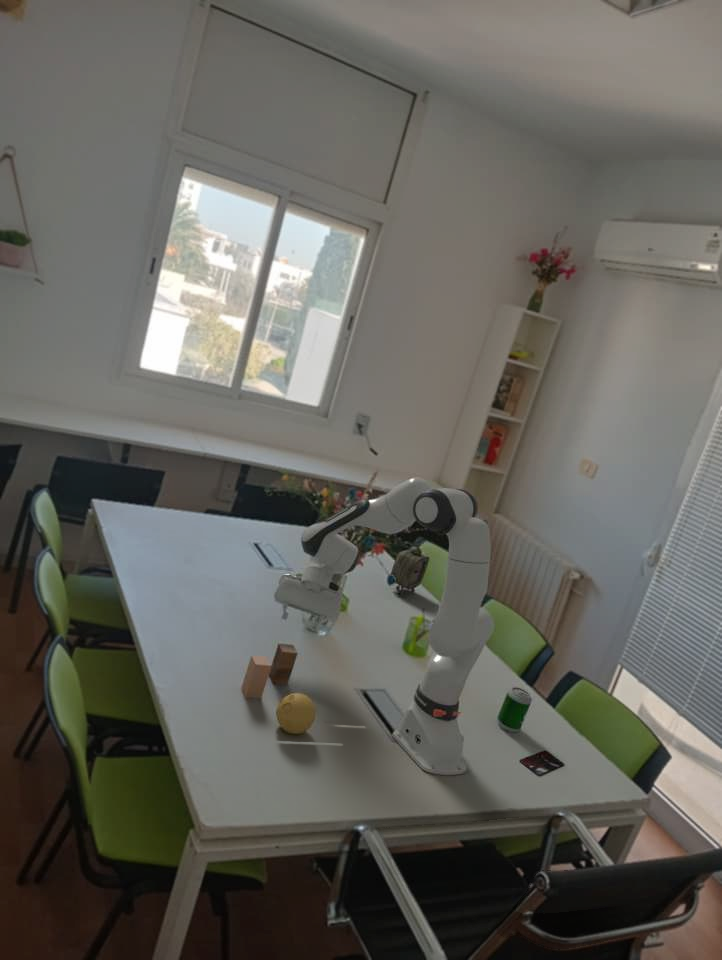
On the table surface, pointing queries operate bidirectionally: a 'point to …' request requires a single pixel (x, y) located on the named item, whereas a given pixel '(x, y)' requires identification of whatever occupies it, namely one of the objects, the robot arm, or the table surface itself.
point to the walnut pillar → (283, 664)
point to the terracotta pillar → (256, 677)
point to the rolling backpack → (410, 568)
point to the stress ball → (296, 713)
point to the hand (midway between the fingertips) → (299, 624)
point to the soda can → (514, 709)
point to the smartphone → (541, 763)
